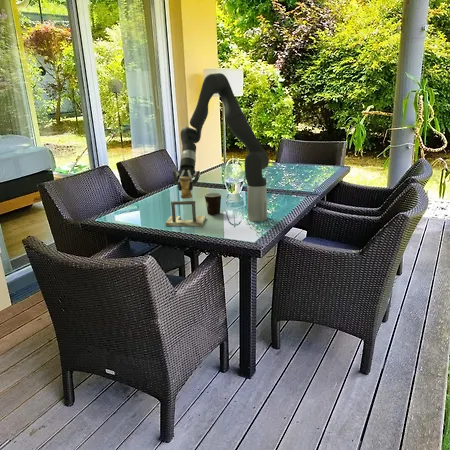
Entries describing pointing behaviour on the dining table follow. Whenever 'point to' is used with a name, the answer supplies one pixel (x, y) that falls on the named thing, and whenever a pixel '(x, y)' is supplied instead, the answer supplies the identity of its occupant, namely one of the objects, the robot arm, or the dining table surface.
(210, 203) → the coffee mug
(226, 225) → the dining table surface
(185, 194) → the wooden knob
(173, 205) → the u-shaped handle base
